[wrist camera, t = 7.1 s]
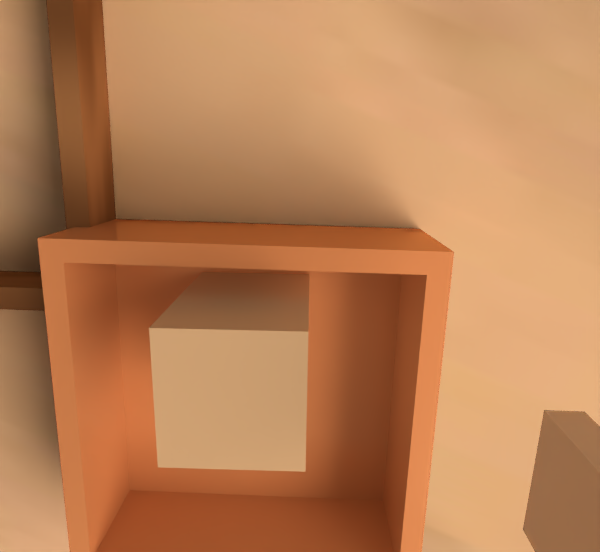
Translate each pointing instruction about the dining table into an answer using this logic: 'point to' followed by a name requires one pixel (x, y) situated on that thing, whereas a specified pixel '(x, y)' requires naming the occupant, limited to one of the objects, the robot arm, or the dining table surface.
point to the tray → (74, 132)
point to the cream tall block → (233, 373)
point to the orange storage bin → (320, 387)
